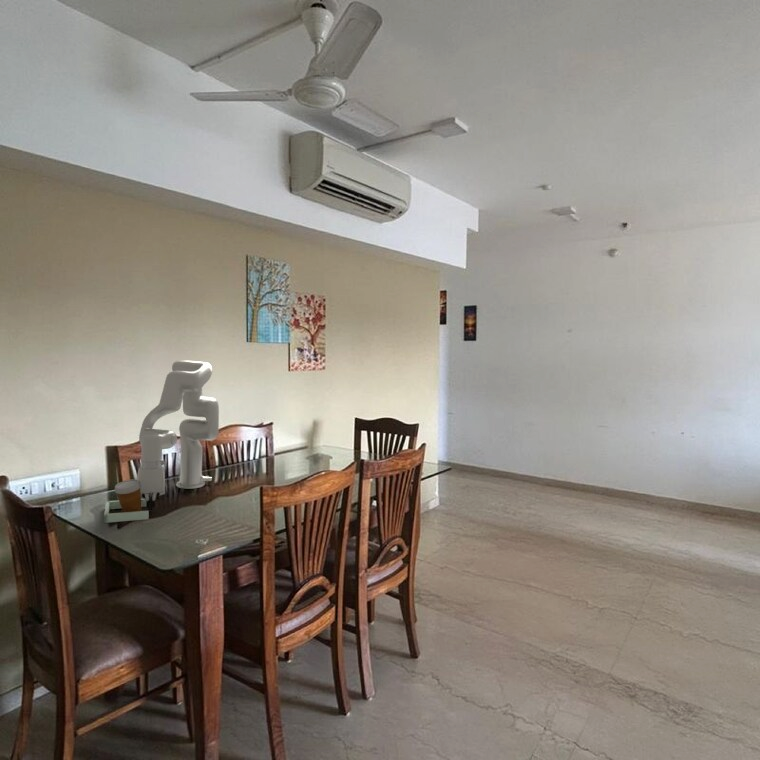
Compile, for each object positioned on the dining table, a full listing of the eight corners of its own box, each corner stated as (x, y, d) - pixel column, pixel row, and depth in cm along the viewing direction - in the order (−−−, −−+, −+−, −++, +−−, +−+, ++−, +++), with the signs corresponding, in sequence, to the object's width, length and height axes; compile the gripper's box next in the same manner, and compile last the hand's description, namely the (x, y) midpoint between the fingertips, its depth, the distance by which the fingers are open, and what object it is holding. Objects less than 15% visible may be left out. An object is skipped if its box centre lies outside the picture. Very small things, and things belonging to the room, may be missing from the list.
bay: (147, 505, 216) (147, 498, 215) (148, 519, 201) (148, 511, 201) (106, 508, 209) (106, 501, 209) (103, 522, 194) (104, 515, 194)
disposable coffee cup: (117, 520, 200) (111, 491, 197) (122, 509, 209) (116, 481, 206) (143, 515, 202) (138, 486, 199) (147, 504, 211) (142, 477, 208)
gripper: (171, 461, 213) (170, 504, 215) (130, 462, 207) (129, 507, 209) (172, 465, 207) (170, 511, 208) (130, 467, 200) (129, 514, 202)
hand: (150, 509), depth 209 cm, fingers closed
